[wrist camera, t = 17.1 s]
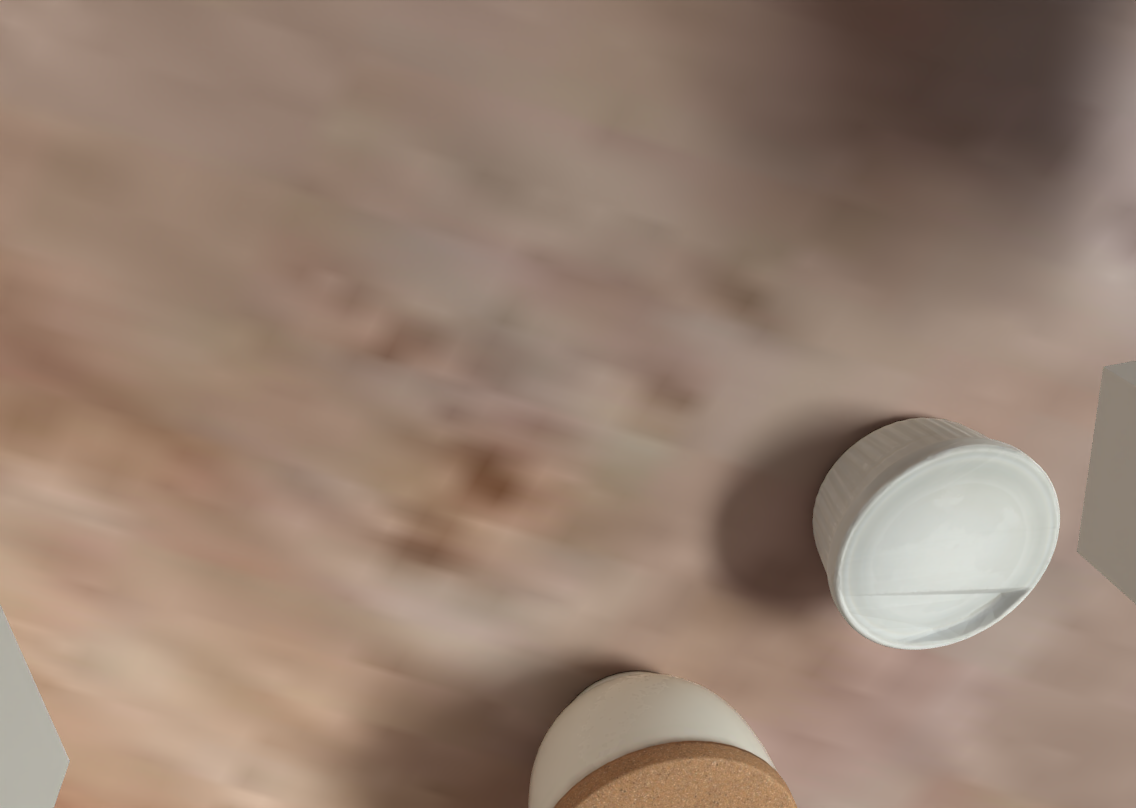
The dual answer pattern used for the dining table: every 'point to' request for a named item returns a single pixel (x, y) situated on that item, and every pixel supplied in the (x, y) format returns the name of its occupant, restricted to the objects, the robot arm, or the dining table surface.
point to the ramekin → (932, 532)
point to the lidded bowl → (653, 750)
